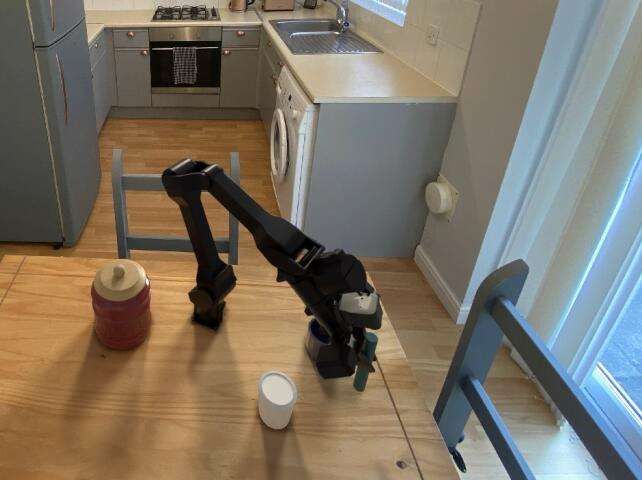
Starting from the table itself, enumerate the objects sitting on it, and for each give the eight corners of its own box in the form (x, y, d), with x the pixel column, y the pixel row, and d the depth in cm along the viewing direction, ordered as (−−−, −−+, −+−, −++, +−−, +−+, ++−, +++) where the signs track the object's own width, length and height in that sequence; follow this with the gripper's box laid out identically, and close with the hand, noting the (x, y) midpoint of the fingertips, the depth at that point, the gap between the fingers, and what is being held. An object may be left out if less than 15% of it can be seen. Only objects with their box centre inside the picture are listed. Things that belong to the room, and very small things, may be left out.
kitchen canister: (142, 295, 104) (140, 239, 97) (159, 341, 92) (157, 281, 85) (90, 310, 100) (83, 252, 93) (100, 359, 89) (94, 298, 82)
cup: (303, 356, 88) (306, 338, 86) (307, 329, 94) (310, 312, 92) (338, 369, 86) (342, 351, 84) (340, 341, 91) (344, 323, 89)
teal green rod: (352, 389, 76) (365, 339, 71) (353, 379, 78) (365, 330, 73) (364, 394, 75) (378, 344, 70) (364, 383, 77) (378, 334, 72)
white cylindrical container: (294, 437, 75) (299, 412, 72) (255, 428, 76) (258, 404, 73) (291, 397, 81) (295, 373, 78) (255, 390, 82) (257, 366, 80)
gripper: (347, 326, 62) (416, 414, 61) (364, 247, 77) (420, 317, 76) (288, 338, 69) (350, 417, 68) (314, 263, 83) (364, 327, 82)
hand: (373, 366), depth 73 cm, fingers closed on teal green rod, 2 cm apart
